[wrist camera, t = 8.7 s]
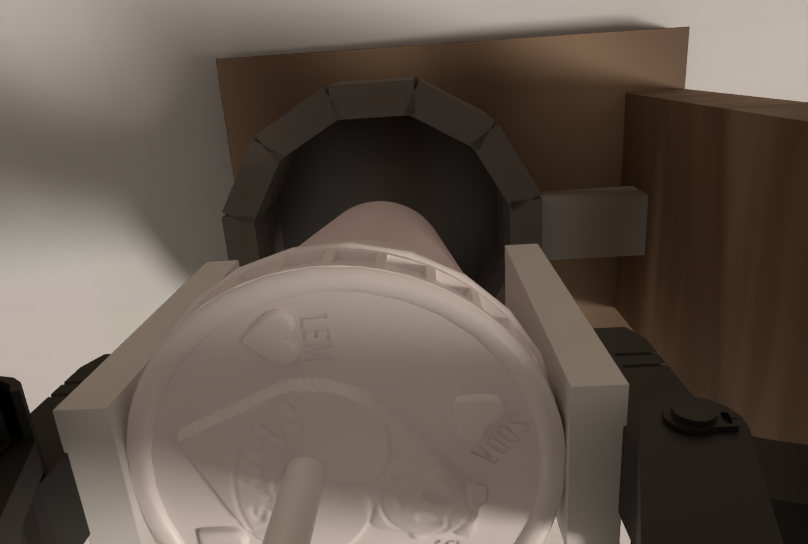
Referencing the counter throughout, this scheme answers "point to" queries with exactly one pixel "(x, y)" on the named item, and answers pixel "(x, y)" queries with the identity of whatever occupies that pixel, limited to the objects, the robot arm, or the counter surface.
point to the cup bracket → (556, 187)
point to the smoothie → (348, 402)
